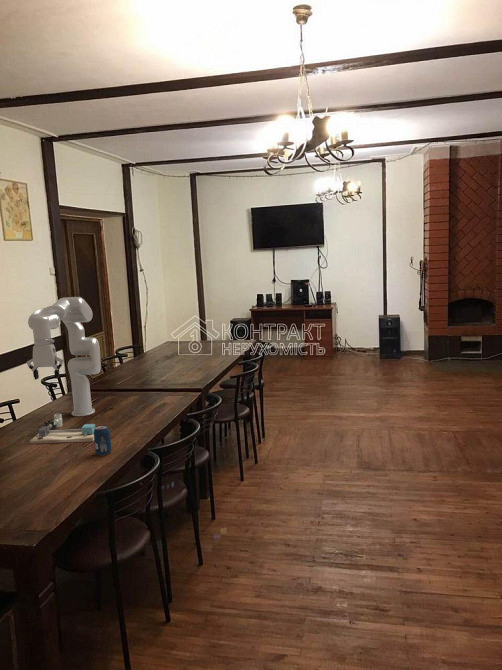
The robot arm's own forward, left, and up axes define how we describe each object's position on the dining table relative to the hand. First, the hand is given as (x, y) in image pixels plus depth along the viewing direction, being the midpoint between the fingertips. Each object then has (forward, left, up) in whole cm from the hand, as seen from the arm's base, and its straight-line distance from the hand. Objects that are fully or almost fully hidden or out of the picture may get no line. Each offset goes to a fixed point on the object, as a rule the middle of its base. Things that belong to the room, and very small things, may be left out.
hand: (46, 378), depth 251 cm
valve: (-19, -7, -31) cm, 37 cm away
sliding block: (-4, +15, -29) cm, 33 cm away
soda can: (+18, +29, -31) cm, 46 cm away
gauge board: (-4, +4, -31) cm, 31 cm away
